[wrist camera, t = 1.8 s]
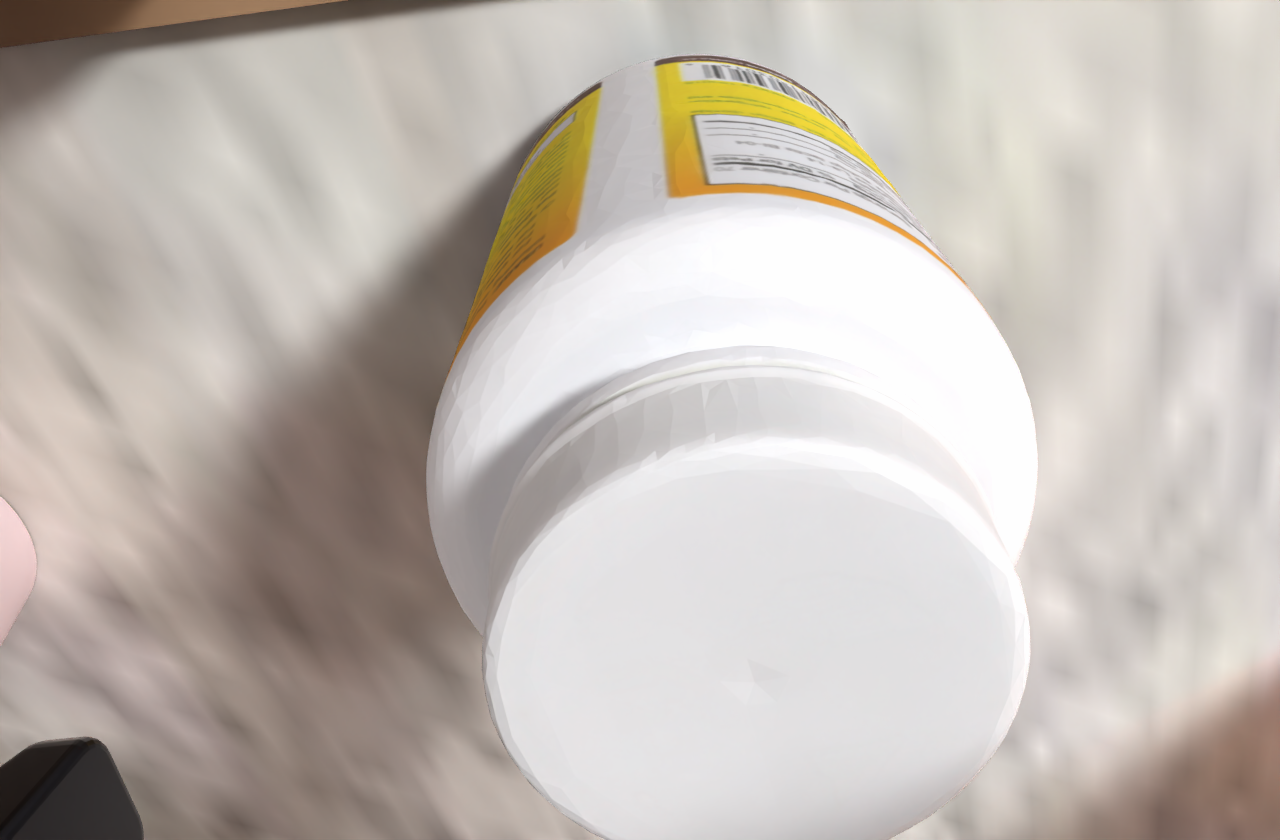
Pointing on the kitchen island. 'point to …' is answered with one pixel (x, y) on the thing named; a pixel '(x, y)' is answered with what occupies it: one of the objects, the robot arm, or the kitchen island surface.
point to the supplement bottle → (732, 474)
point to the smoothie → (14, 567)
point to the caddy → (116, 15)
